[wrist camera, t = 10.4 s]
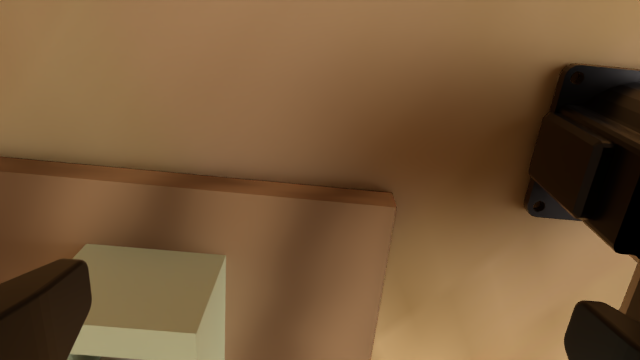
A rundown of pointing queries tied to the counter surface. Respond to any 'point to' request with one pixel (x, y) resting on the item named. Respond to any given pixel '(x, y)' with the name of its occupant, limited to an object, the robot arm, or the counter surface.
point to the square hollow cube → (153, 305)
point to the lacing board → (219, 246)
